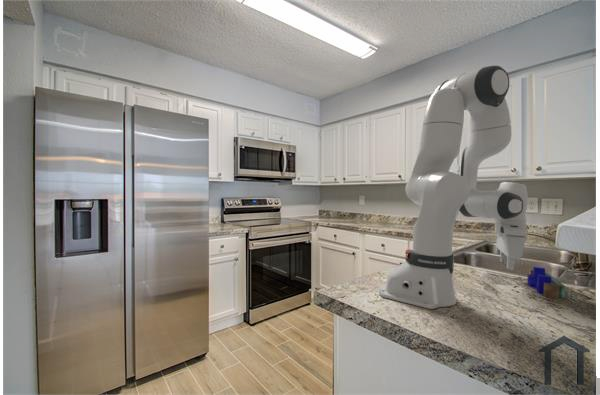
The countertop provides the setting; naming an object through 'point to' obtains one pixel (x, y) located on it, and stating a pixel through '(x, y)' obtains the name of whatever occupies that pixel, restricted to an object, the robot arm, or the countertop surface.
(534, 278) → the cable clip
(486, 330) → the countertop surface
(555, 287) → the rail
